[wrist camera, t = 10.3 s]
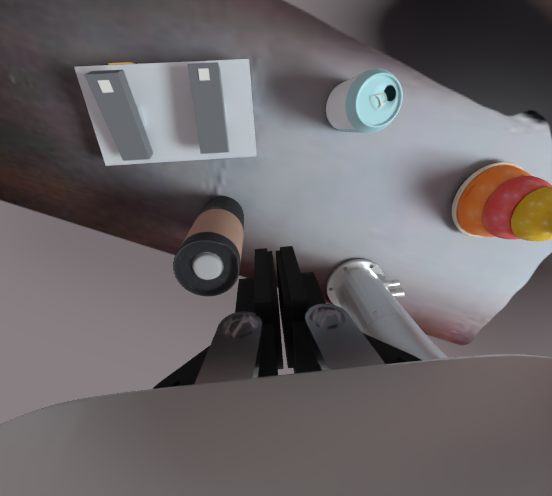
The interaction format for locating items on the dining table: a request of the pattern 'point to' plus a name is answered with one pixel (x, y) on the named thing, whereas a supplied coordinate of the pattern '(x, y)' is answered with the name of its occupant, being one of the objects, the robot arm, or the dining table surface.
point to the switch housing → (176, 110)
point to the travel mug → (212, 249)
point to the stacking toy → (504, 204)
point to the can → (365, 102)
